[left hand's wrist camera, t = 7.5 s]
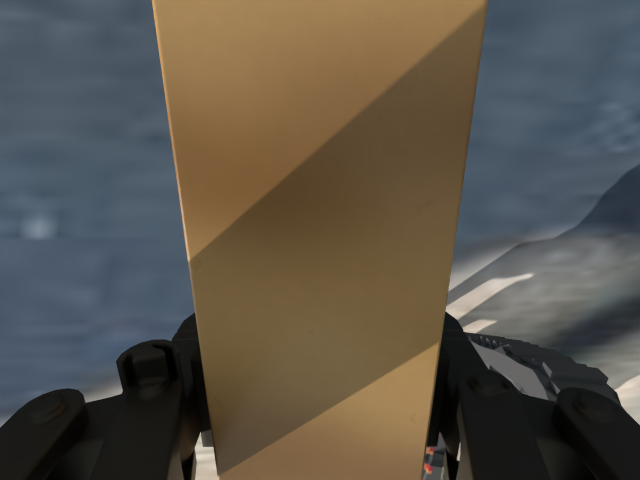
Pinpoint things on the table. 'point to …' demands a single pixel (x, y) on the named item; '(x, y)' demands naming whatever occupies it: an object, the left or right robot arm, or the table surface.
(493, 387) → the left robot arm
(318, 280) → the oak block
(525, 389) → the toy
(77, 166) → the table surface
